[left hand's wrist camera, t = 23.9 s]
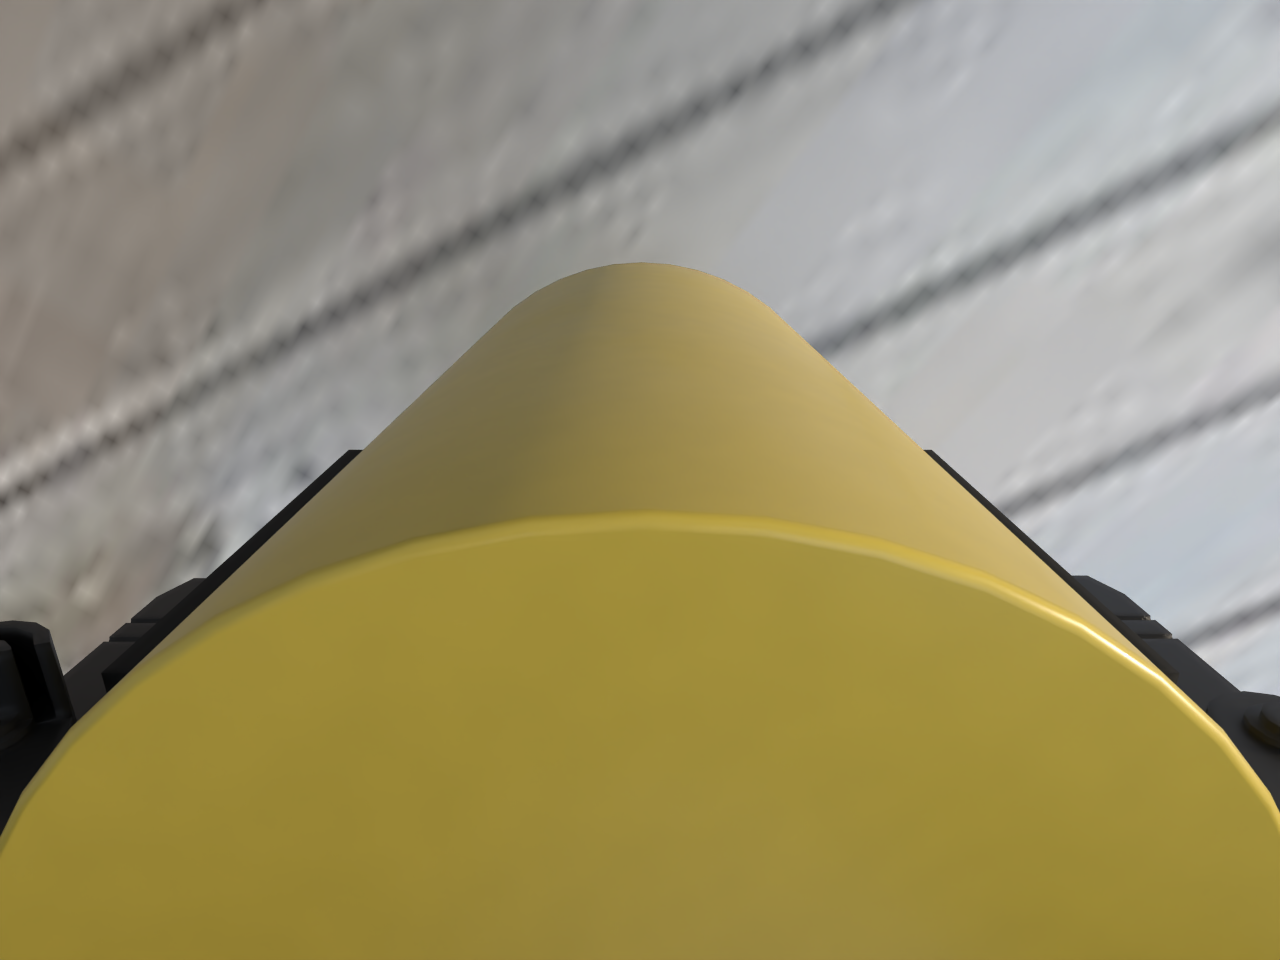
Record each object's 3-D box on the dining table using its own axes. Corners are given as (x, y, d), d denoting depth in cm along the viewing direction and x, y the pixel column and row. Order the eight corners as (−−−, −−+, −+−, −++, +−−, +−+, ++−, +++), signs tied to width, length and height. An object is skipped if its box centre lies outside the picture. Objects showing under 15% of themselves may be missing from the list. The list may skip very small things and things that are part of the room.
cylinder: (642, 166, 15) (650, 83, 3) (916, 463, 17) (1574, 1120, 5) (366, 463, 17) (-284, 1119, 5) (640, 694, 19) (642, 1544, 7)
